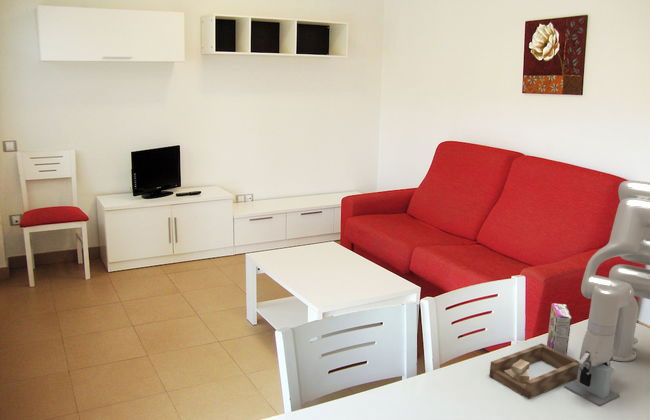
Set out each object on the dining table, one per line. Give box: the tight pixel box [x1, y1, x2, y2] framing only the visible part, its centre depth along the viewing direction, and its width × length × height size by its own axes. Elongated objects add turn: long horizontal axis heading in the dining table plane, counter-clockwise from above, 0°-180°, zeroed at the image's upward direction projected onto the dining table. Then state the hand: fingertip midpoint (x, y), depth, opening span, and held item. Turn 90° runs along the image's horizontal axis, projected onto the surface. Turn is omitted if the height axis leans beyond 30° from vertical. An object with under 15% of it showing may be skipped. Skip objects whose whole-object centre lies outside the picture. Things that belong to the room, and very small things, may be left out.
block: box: [575, 361, 614, 399], centre depth 186 cm, size 3×9×9 cm, turn 33°
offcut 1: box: [511, 359, 531, 375], centre depth 190 cm, size 3×6×2 cm, turn 138°
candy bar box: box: [546, 302, 572, 356], centre depth 208 cm, size 11×5×16 cm, turn 168°
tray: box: [488, 343, 580, 400], centre depth 195 cm, size 25×15×5 cm, turn 123°
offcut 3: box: [504, 369, 526, 386], centre depth 191 cm, size 3×10×2 cm, turn 20°
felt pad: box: [563, 380, 620, 407], centre depth 187 cm, size 10×12×1 cm
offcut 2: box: [513, 363, 530, 384], centre depth 191 cm, size 3×8×2 cm, turn 176°
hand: (593, 380), depth 186 cm, fingers open, 8 cm apart
